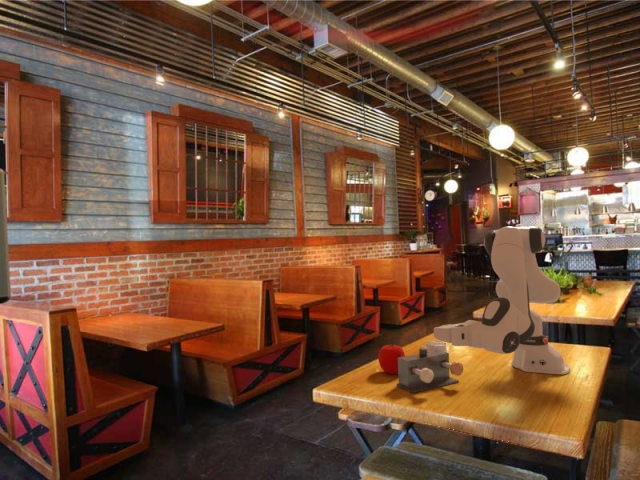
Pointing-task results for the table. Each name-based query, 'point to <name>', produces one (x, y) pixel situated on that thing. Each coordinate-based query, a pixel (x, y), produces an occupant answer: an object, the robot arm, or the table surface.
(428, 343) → the cup
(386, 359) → the tomato
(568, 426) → the table surface
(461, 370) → the knob
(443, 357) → the mount
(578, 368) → the table surface
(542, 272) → the robot arm
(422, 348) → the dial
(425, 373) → the knob
